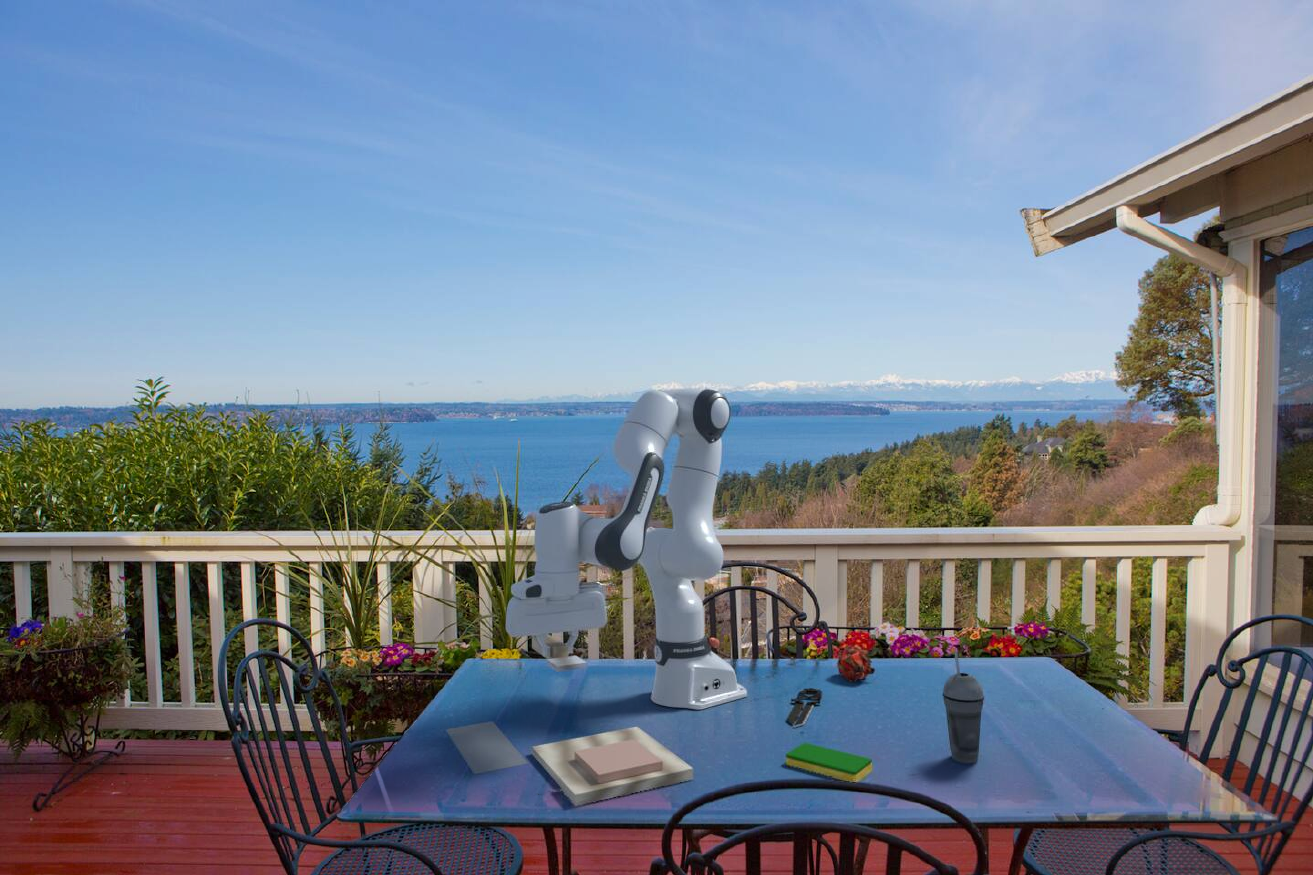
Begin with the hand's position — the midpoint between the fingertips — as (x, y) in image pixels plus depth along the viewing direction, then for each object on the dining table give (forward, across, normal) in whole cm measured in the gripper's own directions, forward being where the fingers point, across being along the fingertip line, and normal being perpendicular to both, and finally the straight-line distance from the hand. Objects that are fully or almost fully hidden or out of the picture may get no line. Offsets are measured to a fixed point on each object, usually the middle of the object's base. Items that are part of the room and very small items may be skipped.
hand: (557, 654), depth 161 cm
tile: (+15, -4, +13) cm, 21 cm away
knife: (+18, -55, +7) cm, 58 cm away
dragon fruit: (+17, -79, -5) cm, 81 cm away
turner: (+1, 0, -2) cm, 2 cm away
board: (+18, -5, +15) cm, 24 cm away
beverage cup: (+17, -63, +44) cm, 79 cm away
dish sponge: (+18, -39, +35) cm, 55 cm away
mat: (+18, +13, -6) cm, 23 cm away
